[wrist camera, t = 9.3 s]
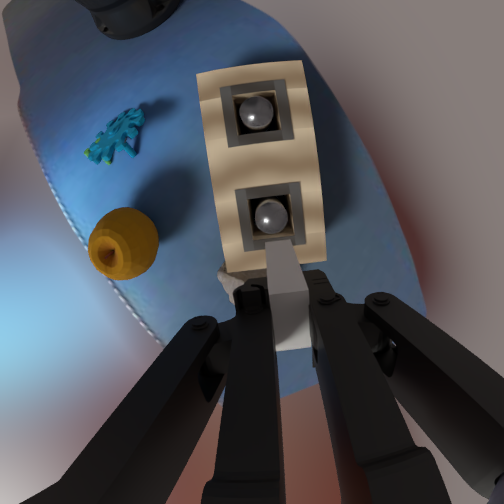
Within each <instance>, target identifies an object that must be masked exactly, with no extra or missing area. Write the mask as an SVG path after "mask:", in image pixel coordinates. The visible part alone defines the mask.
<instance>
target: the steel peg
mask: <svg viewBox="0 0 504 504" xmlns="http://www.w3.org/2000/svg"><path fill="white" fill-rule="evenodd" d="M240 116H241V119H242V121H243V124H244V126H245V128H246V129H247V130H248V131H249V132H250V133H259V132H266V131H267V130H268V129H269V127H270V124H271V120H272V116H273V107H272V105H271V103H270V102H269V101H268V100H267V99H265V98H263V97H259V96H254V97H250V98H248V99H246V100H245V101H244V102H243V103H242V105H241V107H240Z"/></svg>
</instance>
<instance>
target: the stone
mask: <svg viewBox="0 0 504 504" xmlns="http://www.w3.org/2000/svg"><path fill="white" fill-rule="evenodd" d="M217 277H218V279H219V280H220V281H221V283H222V284H223V287H224V289H225V291H226V292H227V293H228V294H229V300H230V302H232V303H233V304H234V305H235V303H234V298H233V291H234V289H236V288H237V287H239V286H241V285H243V284H244V283H245V282H246V281H247V280H248V279H251V278H260V277H267V268H264V269H256V270H247V271H239V272H230V273H227V267H226V262H224V263H223V264H222V266H221V267H220V269H219V270H218V274H217Z"/></svg>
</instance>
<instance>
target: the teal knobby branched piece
mask: <svg viewBox="0 0 504 504" xmlns="http://www.w3.org/2000/svg"><path fill="white" fill-rule="evenodd" d="M143 116H144V112H143V111H142V110H141V109H139V110H138V111H136V109H135V108H132V109H131V110H130V111H129V112H128V113H127V114H126V113H125V112H123V113H121V114H120V115H119V116H118V118H117V120H116V122H114V121H113V120H112V121H110V122H109V123H108V124H107V125H106V126H107V130H106V132H105V133H103V132H102V131H101V132H99V133H98V135H97V136H96V138H97V140H96V141H95V142H94V143H92V144H91V146H90V148H87V149H86V150H85V152H84V154H85V155H86V156H87V157H88V159H89V160H90V161H94V162H95V163H96V164H97V165H98V164H99V163H100V161H101V160H102V159H103V160H104V161H105V162H106V163H107V164H108V165H110V164H111V161H110V159H111V158H112V154H113V152H114V150H115V149H116V150H117V151H118V152H120V151H122V150H123V149H124V150H125V151H126V152H127V153H128V154H129V155H130V156H131V158H134V157H135V156H136V155H137V153H136V152H135V151H134V150H133V148H132V147H131V146H130V145H129V144H128V143H127V142H126V140H127V139H126V137H127V136H129V137H130V138H131V139H133V138H134V137H135V136H136V135H137V134H138V133H139V132H138V131H137V130H136V128H133V127H134V126H135V125H137V126H138V127H139V126H142V125H143V123H144V122H145V119H144V118H143Z"/></svg>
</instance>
